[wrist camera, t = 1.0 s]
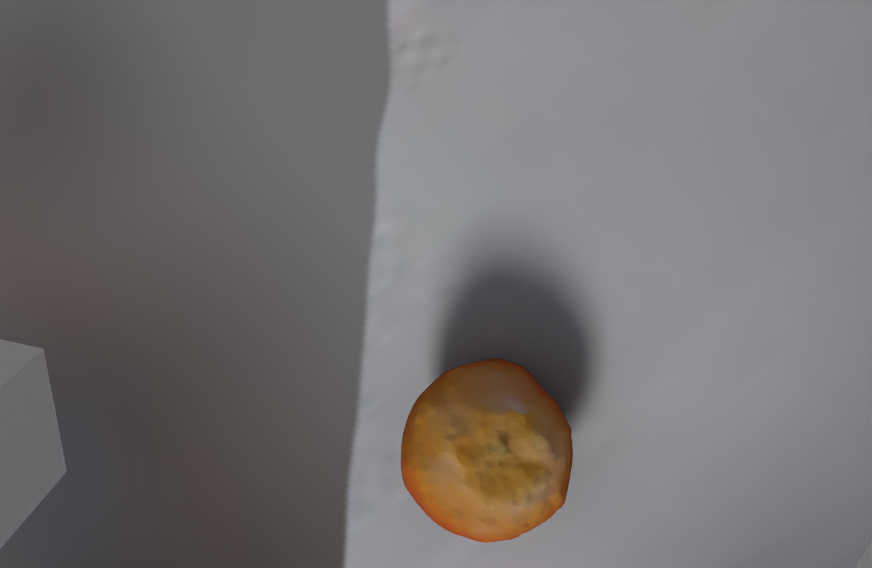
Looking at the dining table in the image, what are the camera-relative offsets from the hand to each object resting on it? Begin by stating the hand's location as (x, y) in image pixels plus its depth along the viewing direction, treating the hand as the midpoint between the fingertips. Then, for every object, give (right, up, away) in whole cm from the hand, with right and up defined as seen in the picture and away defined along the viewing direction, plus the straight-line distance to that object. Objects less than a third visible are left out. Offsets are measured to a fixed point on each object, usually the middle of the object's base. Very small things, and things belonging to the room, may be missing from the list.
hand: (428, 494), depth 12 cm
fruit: (+4, -4, +26) cm, 27 cm away
